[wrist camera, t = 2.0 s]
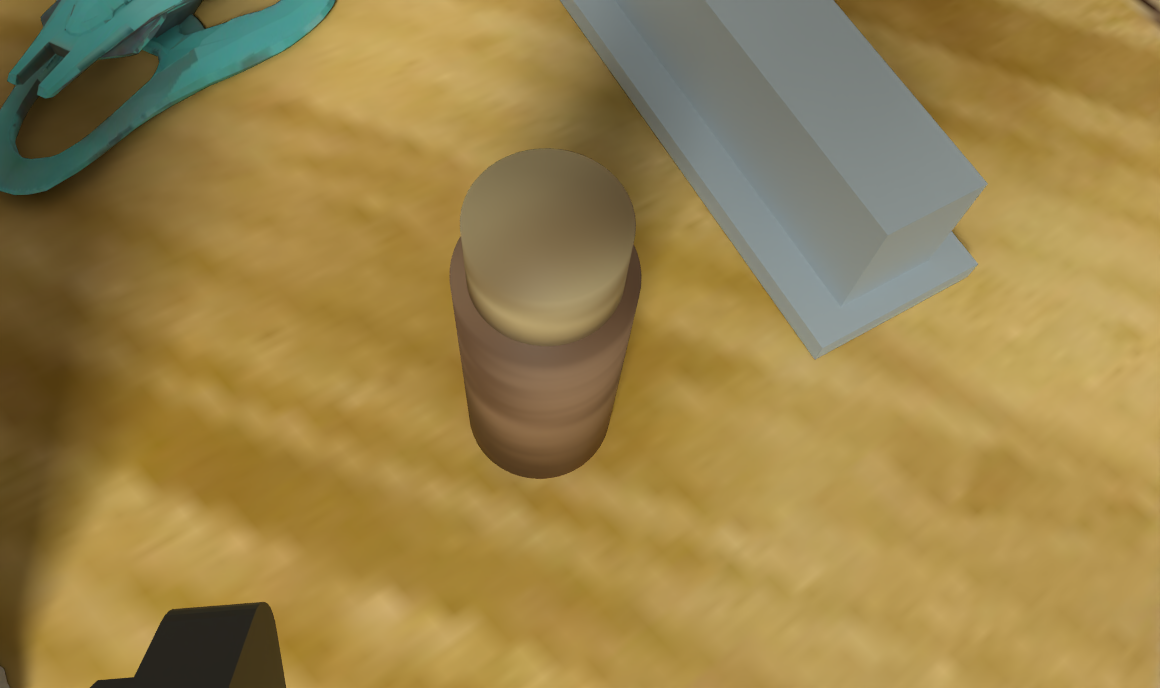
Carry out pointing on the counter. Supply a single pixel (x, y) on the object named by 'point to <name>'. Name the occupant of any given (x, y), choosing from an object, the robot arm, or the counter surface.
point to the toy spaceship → (123, 28)
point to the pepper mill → (544, 307)
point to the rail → (797, 151)
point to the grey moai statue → (3, 679)
